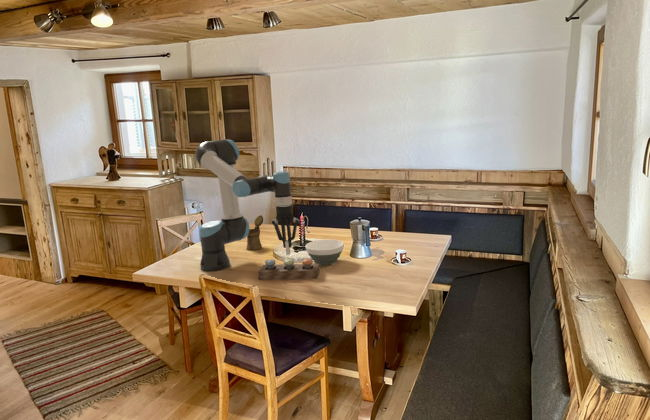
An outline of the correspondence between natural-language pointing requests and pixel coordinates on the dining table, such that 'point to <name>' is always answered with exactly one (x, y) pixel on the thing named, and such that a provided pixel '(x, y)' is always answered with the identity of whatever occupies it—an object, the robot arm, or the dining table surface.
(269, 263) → the slate button
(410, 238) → the dining table surface
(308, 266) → the rust button
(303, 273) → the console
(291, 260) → the sage button
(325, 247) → the bowl
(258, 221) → the brown lidded stein
